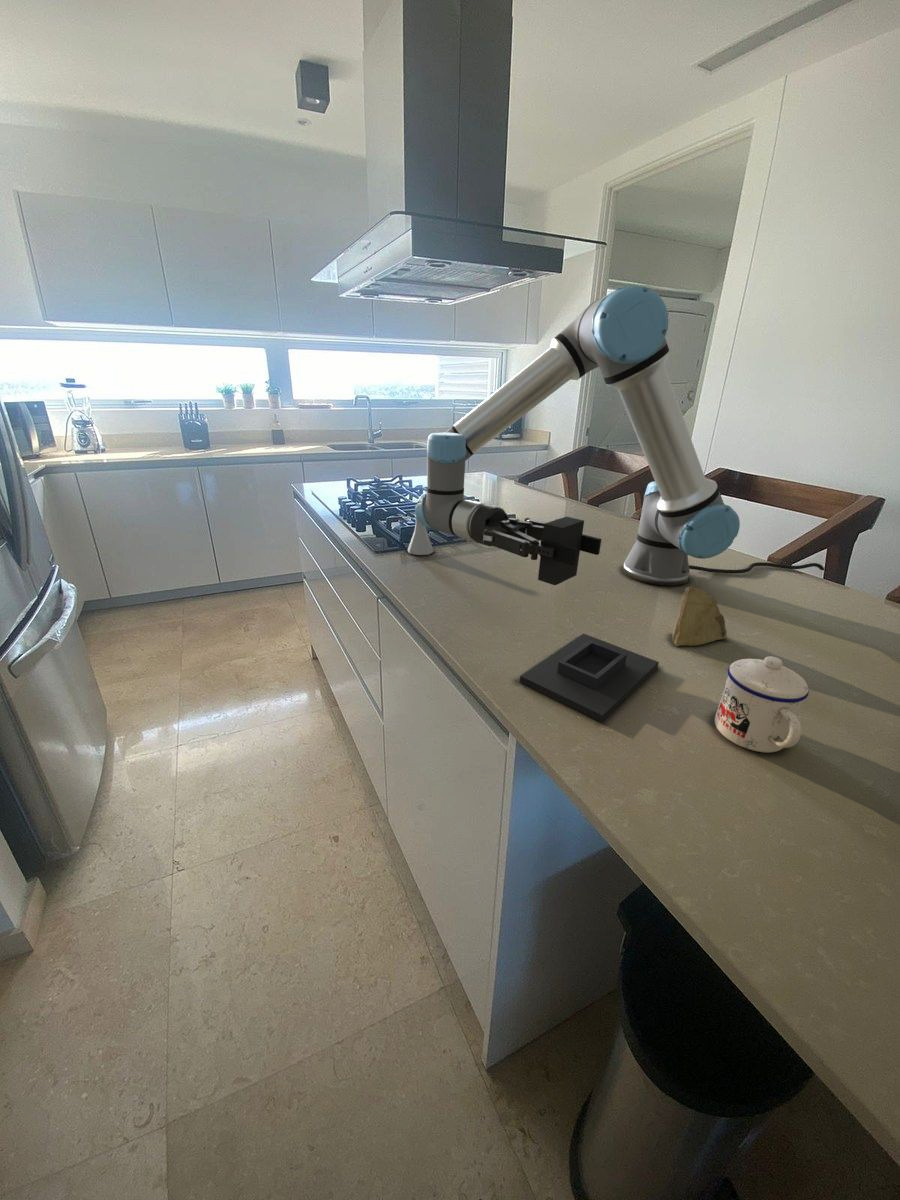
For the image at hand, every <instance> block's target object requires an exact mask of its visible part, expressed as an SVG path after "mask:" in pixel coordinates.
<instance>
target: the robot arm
mask: <svg viewBox="0 0 900 1200" xmlns="http://www.w3.org/2000/svg"><path fill="white" fill-rule="evenodd" d="M669 321H670V319H669V311H668V308H667V306H666V303H665V301H664V300H663V298H662V297H661V296H660V295H659V293H657V292H656V291H655V290H653V289H652V288H649V287H646V286H644V285H643V286H641V285H631V286H624V287H619V288H617V289H615V290H613V291H611V292H609V293H608V294H606V295H604V296H603V297H599V298H598V299H595V300H594V301H592V302H591V303H589V304H588V306H587V307H585V308H584V309H583V310H582V311H581V312H580V313H579V314H578V315H577V316H576V317H575V318H574V319H573V320H572V321H571V322H570V323H569V324H568V325H567V326H566V327H565V328H564V329H563V330H562V331H561V332H559V333H558V334H556V335H555V337H553V338H552V339H551V342H550V347H549V348H548V349H547V350H545V351H544V352H543V353H541V354H540V355H539V356H538V357H536V358H535V359H534V360H533V361H531V362H530V363H529V364H528V365H527V366H525V367H524V368H523V369H521V370H520V371H519V372H518V373H517V374H516V375H514V376H513V377H512V378H510V379H509V380H508V381H507V382H505V383H504V384H503V385H501V387H499V388H498V389H496V390H495V391H494V392H493V393H492V394H490V395H489V396H488V397H486V398H485V399H484V400H483V401H482V402H480V403H479V404H478V405H477V406H476V407H474V408H473V409H472V410H471V411H470V412H467V414H466V415H465V416H463V417H461V418H460V419H459V420H458V421H457V422H455V423H454V424H453V425H452V426H451V427H449V428H447V430H446V431H445V432H432V433H430V434H429V435H428V436H427V445H426V484H427V486H426V492H424V493H422V494H421V495H420V496H419V497H418V498H417V503H416V505H415V507H414V508H415V511H414V513H415V515H416V517H417V519H418V521H419V522H420V523H421V524H422V525H424V526H426V528H429V529H431V530H433V531H436V532H440V533H444V534H446V535H447V534H448V535H451V536H455V537H456V538H461V539H464V540H466V542H467V543H468V542H469V543H471V542H475V543H477V544H481V545H484V546H487V547H495V548H498V549H500V550H503V551H506V552H508V553H511V554H515V555H516V556H520V557H522V558H528V557H529V556H530V560H532V561H537V560H538V557H540V556H542V557H545V558H549V559H552V560H556V561H559V562H562V563H566V564H569V565H573V566H574V565H576V561H577V554H578V548H574V547H570V546H567V545H563V544H559V543H555V542H551V541H548V540H544V539H543V540H542V538H543V529H544V524H545V523H548V522H546V521H542V520H537V519H534V518H530V517H525V518H524V519H523V520H520V519H519V518H514V517H508V514H507V512H506V510H505V509H503V508H502V507H499V506H495V505H491V504H487V503H483V502H479V501H474V500H469V499H465V498H464V497H465V494H464V493H465V475H466V474H465V473H466V461H467V460H468V459H470V458H471V457H472V456H474V455H475V454H476V453H478V451H480V450H481V449H482V448H483V447H485V446H486V445H487V444H488V443H490V442H491V441H493V440H494V439H495V438H496V437H497V436H499V435H500V434H501V433H503V432H504V431H506V430H507V429H508V428H509V427H511V426H512V425H513V424H515V423H516V422H517V421H518V420H520V419H521V418H523V417H524V416H526V414H528V413H529V412H530V411H531V410H533V409H534V408H536V406H538V405H540V403H542V402H543V401H545V400H546V399H547V398H548V397H550V396H551V395H552V394H554V393H555V392H556V391H557V390H559V389H560V388H561V387H563V386H564V385H565V384H567V383H568V382H569V381H578V380H580V379H581V378H582V377H584V376H585V375H587V374H588V373H589V372H592V371H594V370H595V369H597V368H598V369H599V371H600V373H601V375H602V378H603V380H604V382H605V385H606V387H610V388H613V389H616V390H617V391H618V393H619V396H620V398H621V401H622V404H623V405H624V408H625V411H626V413H627V416H628V419H629V421H630V423H631V426H632V428H633V430H634V434H635V435H636V438H637V440H638V443H639V445H640V448H641V450H642V452H643V455H644V457H645V460H646V463H647V464H648V468H649V470H650V472H651V474H652V478H653V479H654V481H650V482H649V483H648V484H647V486H646V489H645V493H644V495H643V503H642V507H641V514H640V519H639V523H638V524H639V525H638V530H637V535H636V539H635V543H634V544H633V546H632V548H631V550H630V552H628V555H627V557H626V559H625V560H624V562H623V566H622V567H623V568H622V571H623V573H624V574H625V575H626V576H628V577H629V578H631V579H633V580H636V581H638V582H641V583H646V584H650V585H656V586H679V585H683V584H685V583H687V582H688V581H689V577H690V570H694V571H701V572H707V573H716V574H745V573H748V572H750V571H751V570H752V569H753V568H754V567H772V568H778V569H787V570H804V569H807V568H813V567H815V568H818V569H819V570H820V571H825V570H826V569H825V567H824V566H823V565H822V564H820V563H817V562H810V563H805V564H800V565H799V564H798V565H790V564H783V563H782V564H781V563H775V562H765V561H761V562H759V561H758V562H753V563H751V564H749V565H748V566H747V567H746V568H739V569H723V568H712V567H704V566H700V565H699V566H698V565H692V564H689V556H690V557H692V558H694V559H701V560H702V559H703V560H705V559H711V558H713V557H716V556H719V555H720V554H722V553H724V552H725V551H726V550H727V549H729V548H730V546H731V545H732V544H733V543H734V540H735V538H737V537H738V535H739V533H740V528H741V523H740V517H739V515H738V513H737V512H736V511H735V510H734V508H732V506H731V505H729V504H728V505H727V504H726V503H725V502H724V500H723V497H722V494H721V492H720V489H719V487H718V483H717V482H716V481H715V480H714V479H710V478H706V476H705V472H704V471H703V468H702V465H701V462H700V459H699V457H698V455H697V454H698V453H697V451H696V448H695V445H694V443H693V441H692V438H691V435H690V432H689V430H688V427H687V424H686V422H685V421H686V420H685V418H684V415H683V412H682V410H681V407H680V404H679V402H678V399H677V395H676V393H675V391H674V388H673V385H672V383H671V380H670V376H669V374H668V372H667V369H666V361H667V359H668V358H669V357H668V356H669V355H670V352H671V350H670V348H669V344H668V341H667V339H666V336H667V332H668V330H669V323H670V322H669ZM601 546H602V538H600V537H595V536H591V535H587V534H584V533H582V540H581V547H580V552H584V553H588V554H592V555H595V556H598V555H600V551H601Z"/></svg>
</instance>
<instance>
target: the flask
mask: <svg viewBox="0 0 900 1200" xmlns="http://www.w3.org/2000/svg"><path fill="white" fill-rule="evenodd" d="M414 519H415V525H414V530H413V533H412V537H411V539H410V542H409V545H408V547H407V552H408V554H412V555H417V556H426V555H427V556H429V555H430V554H431V555H432V554H433V553H434V548H433V546H432V542H431V540H430V536H429V534H428V530H427V527H426V526H424V525H422V524H421V523H420V522H419V521H418V519H417V517H416V514H415V515H414Z"/></svg>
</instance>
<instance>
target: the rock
mask: <svg viewBox="0 0 900 1200" xmlns="http://www.w3.org/2000/svg"><path fill="white" fill-rule="evenodd" d="M717 603H718V602H717V599H716V598H714V597H713V596H712V595H710V594H709V593H707V592H706V591H705V590H703V589H701V588H698V587H692V586H687V587H686V588H685V590H684V592H683V595H682V598H681V601H680V607H679V615H678V617H677V620H676V622H675V625H674V628H673V632H672V637H671V638H672V640H671V641H672V643H673V644H674V646H675V647H680V646H691V647H692V646H695V647H696V646H701V645H705V644H708V643H713V642H715V641H718V640H719V641H721V640H725V639H727V637H728V635H727V631H728V630H727V628H726V621H725V617H724V615H723V614H722V613H721V610H720V608H719V606H718V604H717Z"/></svg>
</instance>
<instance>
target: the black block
mask: <svg viewBox="0 0 900 1200" xmlns="http://www.w3.org/2000/svg"><path fill="white" fill-rule="evenodd" d="M584 527H585V520H584V519H580V518H575V517H570V516H564V517H560V518H558V519H554V520H551V521H548V522H547V523H545V524H544V529H543V538H542V540H543V539H544V540H548V541H551V542H555V543H559V544H563V545H567V546H570V547H574V548H578V554H577V561H576V565H574V566H573V565H569V564H566V563H562V562H559V561H556V560H552V559H549V558H545V557H542V556H539V566H538V567H539V568H538V577H537V581H540V582H544V583H546V584H549V585H552V586H557V585H559V584H561V583H564V582H565V581H567V580H570V579H572V578H574V577H576V576H577V573H578V566H579V560H580V552H581V551H580V547H581V540H582V534H584V533H583V532H584Z"/></svg>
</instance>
